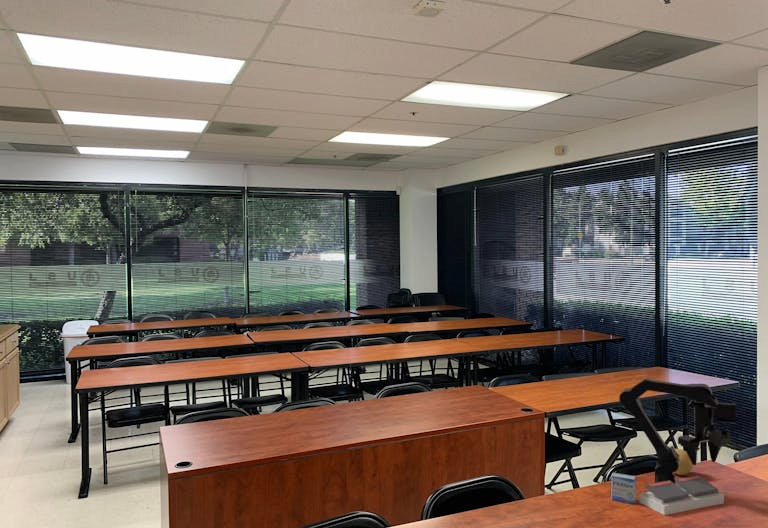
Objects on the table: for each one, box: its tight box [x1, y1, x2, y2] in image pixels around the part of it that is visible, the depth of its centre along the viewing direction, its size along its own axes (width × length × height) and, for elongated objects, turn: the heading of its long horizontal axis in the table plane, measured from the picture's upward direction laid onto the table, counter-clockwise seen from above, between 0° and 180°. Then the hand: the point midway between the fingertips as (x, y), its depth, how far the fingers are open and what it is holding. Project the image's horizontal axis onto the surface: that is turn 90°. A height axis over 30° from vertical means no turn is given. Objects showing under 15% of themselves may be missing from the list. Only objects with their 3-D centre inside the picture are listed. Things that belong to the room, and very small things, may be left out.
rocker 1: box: [644, 480, 689, 502], centre depth 192 cm, size 8×11×2 cm
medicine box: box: [610, 472, 637, 505], centre depth 197 cm, size 8×4×9 cm, turn 62°
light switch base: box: [638, 486, 725, 516], centre depth 195 cm, size 11×27×4 cm, turn 110°
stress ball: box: [673, 448, 694, 476], centre depth 222 cm, size 10×10×10 cm
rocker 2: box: [675, 474, 719, 496], centre depth 197 cm, size 8×11×2 cm
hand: (704, 463), depth 200 cm, fingers open, 9 cm apart
